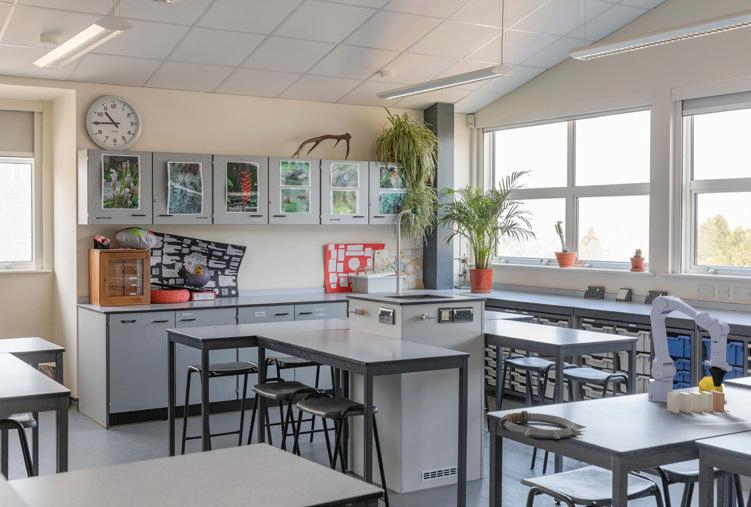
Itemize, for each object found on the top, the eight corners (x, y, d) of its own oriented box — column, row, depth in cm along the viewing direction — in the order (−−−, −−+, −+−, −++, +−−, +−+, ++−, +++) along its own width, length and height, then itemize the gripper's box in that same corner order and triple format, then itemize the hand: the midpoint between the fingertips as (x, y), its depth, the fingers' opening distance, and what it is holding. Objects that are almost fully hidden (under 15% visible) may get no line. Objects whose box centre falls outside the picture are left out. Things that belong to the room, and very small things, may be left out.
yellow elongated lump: (708, 411, 343) (697, 388, 344) (701, 398, 372) (691, 377, 373) (732, 402, 341) (721, 379, 342) (723, 389, 369) (712, 368, 370)
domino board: (672, 415, 322) (672, 413, 322) (660, 411, 330) (660, 409, 330) (730, 413, 329) (730, 411, 328) (717, 409, 336) (717, 407, 336)
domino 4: (708, 411, 328) (708, 393, 328) (700, 409, 333) (700, 391, 332) (712, 411, 328) (713, 393, 328) (704, 408, 333) (705, 391, 333)
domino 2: (685, 412, 325) (686, 394, 325) (678, 409, 330) (678, 392, 330) (690, 412, 326) (690, 394, 326) (682, 409, 331) (683, 391, 330)
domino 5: (715, 408, 334) (716, 391, 334) (724, 411, 329) (724, 393, 329) (711, 408, 334) (712, 391, 334) (719, 411, 329) (720, 393, 329)
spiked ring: (481, 432, 287) (562, 451, 269) (481, 419, 287) (563, 437, 269) (525, 417, 314) (602, 432, 296) (526, 404, 314) (603, 420, 296)
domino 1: (674, 412, 324) (675, 394, 324) (666, 410, 329) (667, 392, 329) (679, 412, 325) (679, 394, 324) (671, 409, 329) (672, 392, 329)
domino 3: (697, 412, 327) (697, 394, 326) (689, 409, 331) (689, 391, 331) (701, 411, 327) (702, 394, 327) (693, 409, 332) (694, 391, 332)
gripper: (739, 354, 325) (738, 389, 325) (715, 349, 339) (714, 383, 339) (723, 354, 323) (722, 390, 324) (700, 349, 337) (699, 383, 338)
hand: (717, 386), depth 331 cm, fingers closed
